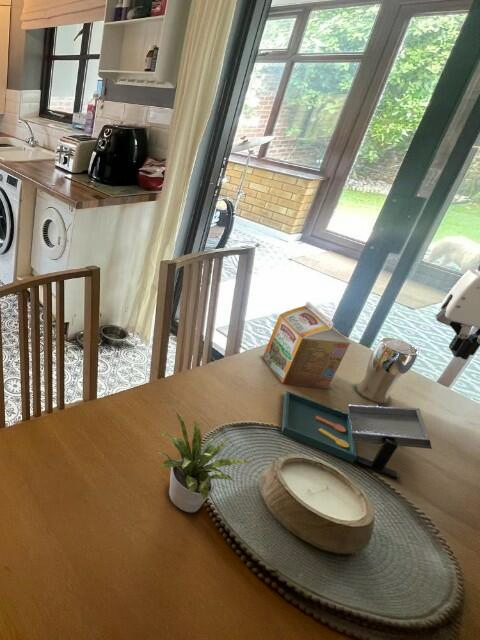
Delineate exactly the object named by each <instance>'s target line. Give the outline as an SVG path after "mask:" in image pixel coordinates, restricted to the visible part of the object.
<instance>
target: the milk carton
mask: <svg viewBox="0 0 480 640" xmlns="http://www.w3.org/2000/svg"><path fill="white" fill-rule="evenodd" d="M334 326H335V323H334V321H332V320H331V319H330V318H329V317H327V315H325V314H324V313H323V312H322V311H321V310H319V309H318V308H317V307H316V306H315V305H314V304H312V303H311V302H310V301H306V303H305V305H303V306H299V307H296V308H295V307H294V308H293V309H289V310H286V311H284V312H283V313H281V314H279V315H278V318H277V320H276V323H275V325H274V328H273V330H272V333H271V335H270V338H269V340H268V343H267V345H266V347H265V350H264V353H263V356H262V358H263V360H264V361H265V363H267V365H268V366H269V367H270V369H271V370H272V371H273V372H274V374H275V375H276V376H277V378H278V379H279V380H280V381H281V383H282V384H288V385H296V386H305V387H315V388H324V389H328V388H329V386H330V385H331V383H332V381H333V379H334V378H335V375H336V373H337V371H338V369H339V366H340V365H341V363H342V360H343V358H344V357H345V355H346V353H347V350H348V348H349V347H350V345H351V342H350V341H349V340H348V338H347V337H346V336H345V335H344V334H342V333H341V332H340V331H339V330H338V329H336V328H335V327H334Z"/></svg>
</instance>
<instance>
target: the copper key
mask: <svg viewBox="0 0 480 640" xmlns="http://www.w3.org/2000/svg"><path fill="white" fill-rule="evenodd" d="M315 419H316V420H318V421H320V422H322V423H324V424H327V425H329V426H331V427H333V428H334V429H335V430H337V431H338V432H341V433H345V432H346V429H345V428H344V427H343V426H341V425H339V424H334V423H332V422H330V421H327V420H325V419H323V418H321V417H319V416H316V418H315Z"/></svg>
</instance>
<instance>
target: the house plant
mask: <svg viewBox="0 0 480 640" xmlns="http://www.w3.org/2000/svg"><path fill="white" fill-rule="evenodd" d="M171 409H172V411H173V413H174V415H175V416H176V418H177V420H178V421H179V424H180V427H181V432H182V436H183V439H182V438H180V437H172V436H171V435H170V434H167V433H164V432H161V433H156V434H157V435H159V436H162V437H165V438H167V439H170V440H171V442H172V444H173V445H174V446H175V448H176V449H177V450H178V452H179V454H180V457H181V459H178V460H175V459H172V458H171V457H170V456H169V455H168V454H167V453H165V452H162V451H159V450H157V451H156V450H155V452H156V453H158V454H160V455H162V456H164V457H166V458H167V459H165V461H163V463H162V464H161V465H160V467H159V468H162V467H163V468H170V479H169V490H168V494H169V498H170V500H171V502H172V503H173V504H174V505H175V507H177V508H178V509H180V510H181V511H184V512H186V513H196V512H198V511H199V510H200V508H201V507H202V506H203V505H204V503H205V502H206V501H207V499H208V498H209V497H210V495H212V493H213V491H214V490H215V481H214V480H215V479H216V480H228V481H231V482H235V481H234V479H233V477H232V476H231V475H229V474H226V473H224V472H223V471H222V470H220V469H218V468H219V467H226V466H232V465H235V464H251V462H250V461H248V460H245V459H242V458H237V457H231V458H230V457H229V458H220V459H217V460H215V461H214V462H211V463H209V462H210V461H212V459H213V458H214V457H215V456H216V455H218V454H219V453H220V452H221V451H222V450H223V448H224V447H225V444H226V443H227V440H228V438H225V439H224V440H223V441H222V442H221V443H219V444H218V445H217V446H215V445H212V444H211V445H208V444H209V443H210V442H212V441H214V440H215V439H216V437H213V438H211V439H209V440H208V441H207V442H206V443H205V444H204V446H203V447H202V444H203V438H202V432H201V428H200V427H199V424H198V423H197V422H196V421H193V435H192V441H191V444H190V441H189V436H188V431H187V428H186V425H185V422H184V420H183V419H182V417H181V416H180V415H179V413H177V411H176V410H175V409H173V408H171ZM203 450H204V451H203ZM202 451H203V453H202ZM208 463H209V464H208ZM211 473H214V474H211Z"/></svg>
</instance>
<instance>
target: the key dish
mask: <svg viewBox="0 0 480 640" xmlns="http://www.w3.org/2000/svg"><path fill="white" fill-rule="evenodd" d="M347 407H348V413H349V414H350V420H351V427H352V431H351V433H352V437H353V441H355V442H358V443H369V444H376V445H377V444H378V445H383V443H384V442H385V440H386V439H389V440H391V441H394V442H397V444H398V447H408V448H419V449H429V450H432V449H433V447H432V443H431V439H430V436H429V432H428V429H427V427H426V424H425V421H424V418H423V415H422V412H421V409H420V408H418V407H398V406H388V407H383V406H377V405H365V404H364V405H363V404H347Z"/></svg>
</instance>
